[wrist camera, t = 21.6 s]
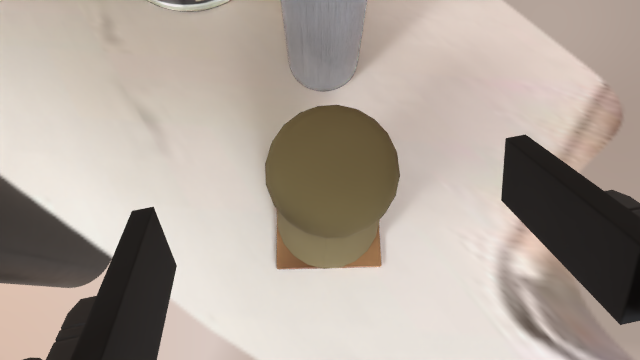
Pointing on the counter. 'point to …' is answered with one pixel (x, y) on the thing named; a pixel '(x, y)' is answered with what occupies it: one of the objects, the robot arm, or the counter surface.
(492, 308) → the counter surface
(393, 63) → the counter surface
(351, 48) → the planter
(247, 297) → the counter surface
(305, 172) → the pepper shaker
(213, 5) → the coffee can
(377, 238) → the coaster
